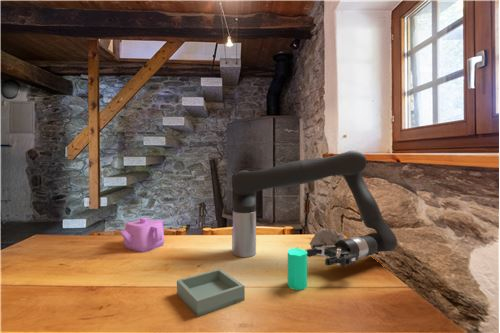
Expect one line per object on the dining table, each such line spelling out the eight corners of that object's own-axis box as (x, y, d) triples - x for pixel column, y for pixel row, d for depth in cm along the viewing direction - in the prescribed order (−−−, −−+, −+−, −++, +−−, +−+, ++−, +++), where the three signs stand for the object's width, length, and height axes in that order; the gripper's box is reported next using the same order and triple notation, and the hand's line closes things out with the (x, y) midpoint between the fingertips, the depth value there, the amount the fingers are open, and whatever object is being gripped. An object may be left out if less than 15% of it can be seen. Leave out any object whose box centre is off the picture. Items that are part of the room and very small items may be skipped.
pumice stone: (345, 248, 120) (345, 225, 119) (349, 254, 112) (349, 230, 112) (308, 247, 122) (308, 224, 121) (310, 253, 114) (310, 229, 114)
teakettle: (163, 251, 117) (162, 221, 117) (118, 254, 113) (117, 224, 113) (165, 238, 134) (164, 212, 133) (126, 241, 130) (126, 214, 129)
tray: (177, 293, 82) (176, 280, 82) (219, 281, 90) (219, 268, 90) (197, 316, 70) (197, 301, 70) (244, 299, 78) (244, 285, 78)
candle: (285, 281, 90) (285, 243, 89) (304, 280, 90) (304, 243, 90) (289, 290, 84) (289, 250, 83) (309, 289, 84) (310, 249, 84)
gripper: (335, 233, 105) (301, 240, 96) (369, 244, 92) (333, 253, 84) (335, 253, 105) (301, 261, 97) (368, 266, 93) (332, 278, 84)
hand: (316, 257), depth 90 cm, fingers open, 8 cm apart
